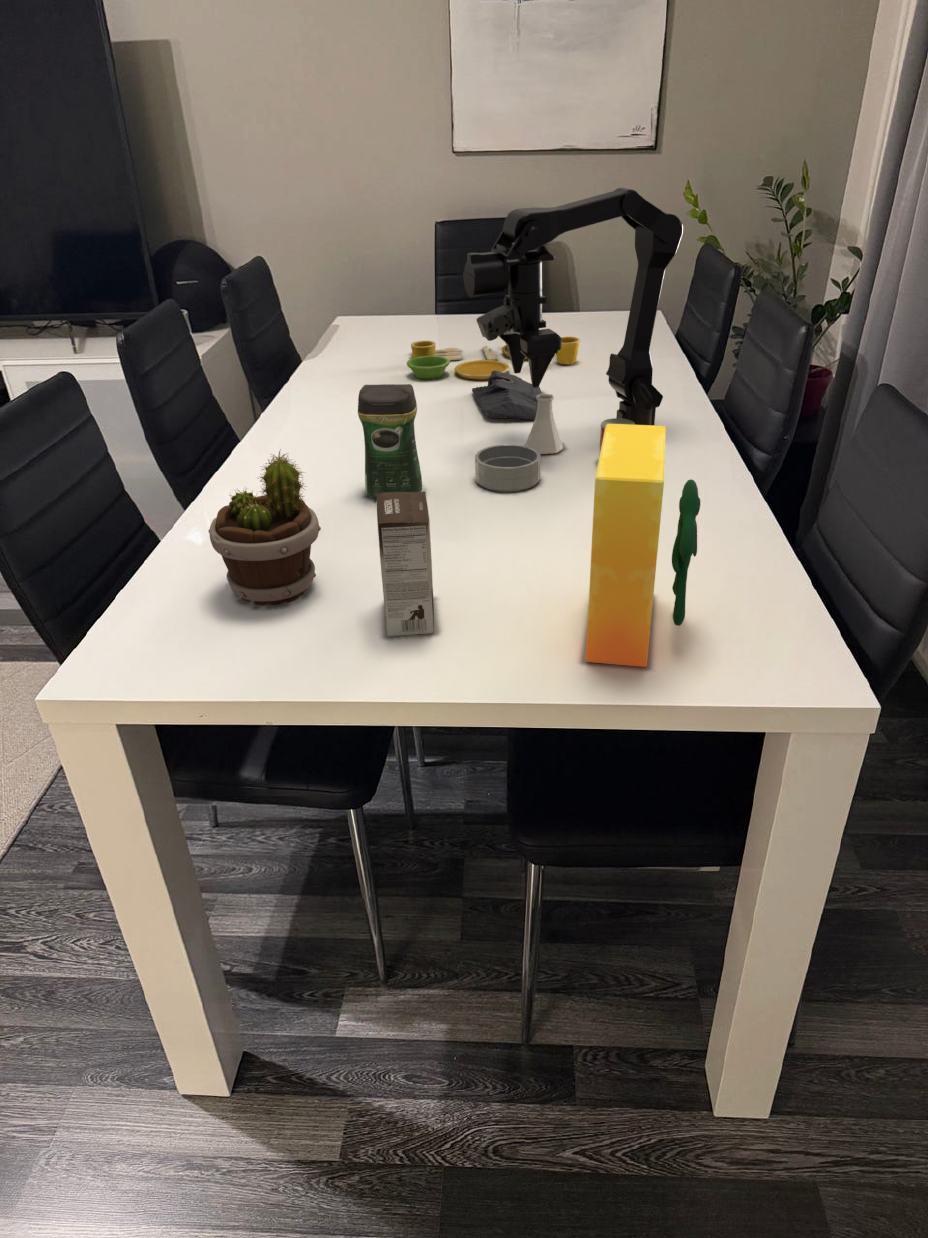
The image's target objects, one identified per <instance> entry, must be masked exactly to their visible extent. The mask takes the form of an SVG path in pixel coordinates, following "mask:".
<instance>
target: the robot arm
mask: <svg viewBox="0 0 928 1238" xmlns="http://www.w3.org/2000/svg"><path fill="white" fill-rule="evenodd" d="M620 217H621V219H622V220H623V221H624V222H625V223H626V225H628V226H629V227H630V228H632V229H633V230H634V250H635V254H636V259H637V270H636V275H635V281H634V285H633V291H632V297H631V301H630V308H629V313H628V319H627V325H626V330H625V334H624V341H623V344H622V346H621V348H620V350H619V352H617V354H616V353H610V355H609V363H608V369H607V371H606V372H605V375H606V376H608V384H609V386H610V387H611V388H612V389H613V390H614V392H615V395H616V397H617V398H618V399H621V400H620V401H619V403H618V404H619V405H618V406H619V407H618V409H617V410H616V417H615V418H621V419H627V420H631V421H633V422H634V423H635V425H653V426H655V423H656V422H655V421H656V411H657V408H659V407H660V406H661V404H662V401H663V399H664V395H663V394H662V393H661V392H660V391H659V390H658V389H657V388H656V387H655V386H654V384H653V371H654V367H653V363H652V362H653V361H652V358H651V357H652V356H651V352H650V349H651V343H652V338H653V332H654V327H655V323H656V318H657V312H658V308H659V303H660V299H661V298H660V297H661V293H662V288H663V282H664V278H665V273H666V269H667V267H668V266H669V264H670V263H671V261H672V260H673V258H674V257H675V256H676V254H677V251H678V248H679V246H680V242H681V241H682V238H683V233H684V225H683V224H684V223H682V221H681V220H680V218H679V217H678V216H677V215H676V214H672V213H668V212H665V211H663V210H662V209H660V208H659V207H657V206H656V205H654V204H653V203H652V202H649V201H648V200H647V199H645V198H644V197H643V196H642V195H640V193H638V191H636V190H635V189H631V188H627V187H618V188H615V189H614V190H612V191H609V192H604V193H601V194H597V195H594V196H591V197H590V196H589V197H587V198H586V197H585V198H583V199H579V200H576V201H572V202H568V203H566V204H565V203H564V204H561V205H557V206H551V207H523V208H515V209H513V210H511V211H510V212H508V213H507V216H506V217H505V219H504V222H503V226H502V227H503V228H502V230H501V232H500V234H499V236H498V238H497V239H496V241H495V242H494V244H493V246H492V248H491V249H490V251H488V252H468V253H467V254H466V258H467V259H466V262H465V264H464V269H463V270H464V271H463V272H462V278H463V279H462V280H463V285H464V289H465V290H464V291H465V293H466V294H467V295H468V297H469V298H473V297H481V296H482V297H483V296H488V295H489V296H490V295H496V294H503V293H504V291H505V290H508V294H505V295H504V297H503V305H501V306H499V307H496V308H494V309H492V310H490V311H488V312H485V313H484V314H482V315H480V316H478V317H477V318H476V319H475V320H476V323H477V326H478V329H479V331H480V333H481V336H482V337H483V338H485V339H486V340H487V341H488V342H489V341H490V342H491V341H494V340H497V339H498V338H500V339H501V341H503V342H504V343H505V345H506V346H507V349H508V352H509V356H510V357H509V359H510V362H511V366H512V369H513V373H514V374H515V375H516V374H521V372H522V369H523V365H524V362H525V360H526V359H525V356H526V357H527V358H528V359H527V362H528V368H529V375H530V376H529V377H530V381H531V382H530V383H531V384H532V387H534V388H535V387H540V385H541V383H542V381H543V379H544V377H545V374H546V372H547V370H548V368H549V366H550V364H551V362H552V361H553V359H554V357H555V355H556V353H558V350H561V344H562V338H561V337H562V336H560V335H559V334H558V333H557V332H556V331H554V330H552V329H550V328H547V320H545V319H543V304H547V296H545V295H543V263H544V262H552V261H554V260H555V256H554V255H553V254H552V253H551V252H549V251H548V249H547V247H546V246H545V245H548V244H550V243H552V242H553V241H555V239H557V238H558V237H560V236H561V235H563V234H565V233H567V232H570V231H575V230H578V229H581V228H585V227H588V226H593V225H595V224H599V223H603V222H606V221H609V220H613V219H617V218H620Z"/></svg>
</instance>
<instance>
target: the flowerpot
mask: <svg viewBox="0 0 928 1238" xmlns="http://www.w3.org/2000/svg"><path fill="white" fill-rule="evenodd" d="M281 449H282V448H280V449H279V451H278V456H277V455H275V454H274V453H273V454H271V453H270V455H271V456H270V458H271V459H269V458H267V462H266V463H264V464H263V465H262V466H261V465H260V466H259V467H262V469H261V471H263V473H262V474H261V473H260V474H259V475H260V476H258V477H257V478H256V480H258V479H259V482H260V483H261V485H260V488H261V491H259V490H258V491H257V492H256V495H254V491H251V492H248V491H247V490H248V489H249V488H248V487H246V488H245V489H243V490H242V491H240V490H239V489H236V490H234V489H231V492H232V491H234V492H235V495H232V494H229V497H230V501H229V502H228V505H224V506H222V507H221V508H220V509H219V510H218V512H217V513H216V517H215V518H214V519H213V520H212V521H211V523H210V526H209V529H208V534H209V541H210V543H211V546H212V548H213V550H214V551H215V552H216V553H217V554H219V555H220V556H221V558H222V560H223V562H224V566H225V568H226V569H227V572H226V580H227V582H228V584H229V586H230V589H231V590H232V592H233V594H235V595H236V596H237V597H239V599H240V600H241V601H243V602H245V603H247V602H253V603H254V605H256V606H258V607H264V606H271V607H272V606H280V605H283V604H288V603H291V602H294V601H296V600H298V599H299V598H300V597H301V596H302V597H303V596H304V594H305V593H306V592H307V590H308V588H309V587H310V586H311V585H312V583H313V581H314V578H316V577H317V574H316V566H315V563H314V562H313V560H312V559H311V550H312V545H313V544H314V543H315V542H316V541H317V540H318V537H319V533H320V531H321V529H322V528H321V526H320V522H319V519H318V516H317V514H316V512H315V511H314V510H313V509H312V508H310V507H309V506H308V504H306V502H305V500H304V499H303V498H304V495H303V493H301V492H303V491H304V490H305V492H306V489H305V488H307V486H306V485H305V482H302V481H304V478H303V474H306V472H304V471H302V469H300V467H298V465H297V464H296V460H294V459H293V458H292V459H290V458H289V452H287V453H283V454H282V455H281ZM285 456H286V457H285ZM292 460H293V461H294V462H293V461H292ZM266 465H267V466H266ZM299 469H300V470H299ZM300 478H301V479H302V480H300ZM262 486H263V487H262ZM304 487H305V488H304ZM236 491H237V492H236ZM258 492H259V493H261V495H258ZM257 495H258V496H257Z"/></svg>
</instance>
